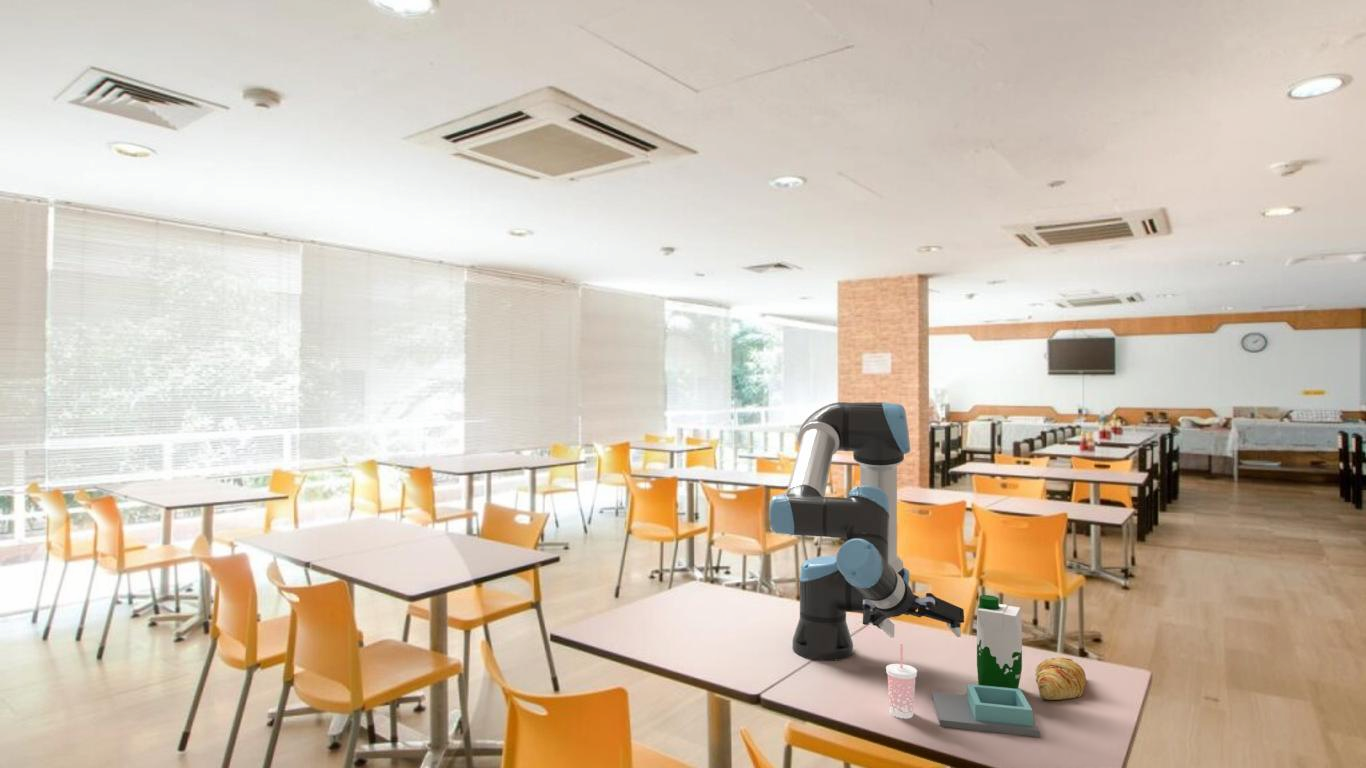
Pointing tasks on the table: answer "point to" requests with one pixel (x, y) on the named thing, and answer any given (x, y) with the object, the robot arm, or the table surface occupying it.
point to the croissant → (1060, 679)
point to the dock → (986, 710)
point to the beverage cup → (901, 688)
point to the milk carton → (998, 643)
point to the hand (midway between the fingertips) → (924, 630)
